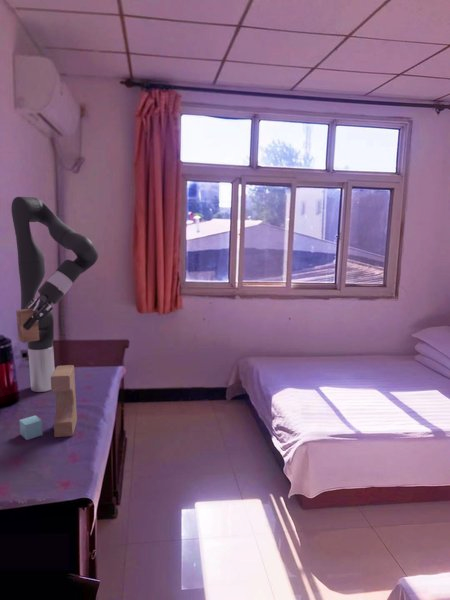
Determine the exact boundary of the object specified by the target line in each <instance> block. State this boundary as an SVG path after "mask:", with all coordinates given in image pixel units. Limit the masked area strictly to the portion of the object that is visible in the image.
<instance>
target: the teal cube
mask: <svg viewBox="0 0 450 600" xmlns="http://www.w3.org/2000/svg"><path fill="white" fill-rule="evenodd" d="M18 422H19V434H20V436H22V438H23V439H25V440H26V441H28V440H32V439H34V438H38V437H40V436H43V434H44V433H43V421H42V419H41V418H40V417H38V416H37V415H31V416H29V417H25V418H22V419H19V421H18Z"/></svg>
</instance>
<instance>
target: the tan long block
mask: <svg viewBox="0 0 450 600" xmlns="http://www.w3.org/2000/svg"><path fill="white" fill-rule="evenodd" d="M15 313H16V325H17V326H16V327H17V339H18V341H19V342H22V343H24V344H25V343H28V342H31V341H37V340H39V327H38V321H37V322H35V323H34V324H33V326H32V327H31V328H30V329H29V330H26V329H25V328H23V325H24V324H25V323H26V321H27V320H28V319H29V318H31V315H32V314H33V313H34V311H33V309H32V308H31V309H23V310H21V309H17V310H15Z"/></svg>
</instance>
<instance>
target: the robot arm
mask: <svg viewBox="0 0 450 600" xmlns="http://www.w3.org/2000/svg"><path fill="white" fill-rule="evenodd" d="M10 207H11V210H10V211H11V218H12V222H13V228H14V233H15V234H14V235H15V241H16V248H17V262H18V266H17V267H18V274H19V284H20V285H19V286H20V310H23V309H31V308H32V309H33V311H34V313H33V314H32V315H31V318H29V319H28V320H27V321H26V323H25V324H24V325H23V328H25V329H26V330H29V329H30V328H31V327H32V326H33V324H34V323H35V322H37V321H38V327H39V340H37V341H31V342H27V349H28V350H27V351H28V362H29V363H28V365H29V379H30V390H31V391H32V392H35V393H36V392H37V393H43V392H49V391H51V376H52V374H53V372H54V371H55V369H56V367H55V357H54V356H55V353H54V340H55V318H54V313H53V311H52V310H53V309H54V307H53V306H52V304H53V305H57V304H58V303H59V302H60V301H61V300H62V299H63V297H64V296H65V295H66V293H67V292H68V291H69V290H70V288H71V287H72V285H73V284H74V282H76V281H77V280H78V278H79V276H80V275H82V274H84V273H86V271H87V270H88V269H90V268H91V267H93V266H94V265H95V263H97V261H98V258H99V252H98V250H97V249H96V247H95V245H94V243H93V242H92V241H91V240H90V239H89V238H88V237H87V236H85V235H83V234H80V233H78V232H76V230H74V229H73V228H72V227H70V226H69V225H67V224H66V223H65V222H64V221H62V220H61V219H60V218H59V216H57V215H56V214H55V212H53V211H52V209H51V208H50V207H49V206H48V205H47V204H46V202H44V201H43V200H41V198H37V197H33V196H32V197H31V196H16V197H14V198H13V199H12V202H11V206H10ZM36 222H37V223H40V224H42V225H44V226H45V227H47V229H48V233H49V235H50V237H51V238H52V239H53V241H55V242H56V243H57V244H59V245H60V246H61V247H63V248H64V249H66V250H67V251H69V250H70V251H72V252H73V254H75V256H76V258H74V260H71V259H66V260H64V261H63V262H62V263H61V264H60V265H59V266H58V267H57V269H56V270H55V271H54V272H53V273H52V274H50V275H49V276H48V278H47V279H46V280H45V281H44V283H43V284H42V282H43V280H44V278H45V275H46V268H45V256H44V254H43V252H42V250H41V249H40V247H39V245H38V244H37V242H36V241H35V240H34V237H33V235H32V232H31V226H30V225H31V224H30V223H36ZM41 284H42V285H41ZM37 293H38V294H39V295H38V297H37V298H35V297H36V295H37Z"/></svg>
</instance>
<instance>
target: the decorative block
mask: <svg viewBox="0 0 450 600" xmlns="http://www.w3.org/2000/svg"><path fill="white" fill-rule="evenodd" d="M75 377H76V376H75V366H74V365H73V364H66V365H65V364H64V365H57V366H56V367H55V371H54V372H53V374H52V376H51V390H50V391H51V392H54V393H53V394H54V396H55V397H54V398H55V413H54V414H55V415H54V422H53V436H54V437H55V438H56V437H57V438H67V437H73V435H74V433H75V428H76V425H77V422H78V415H77V413H78V411H77V399H76V397H77V395H76V380H75V379H76V378H75Z"/></svg>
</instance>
